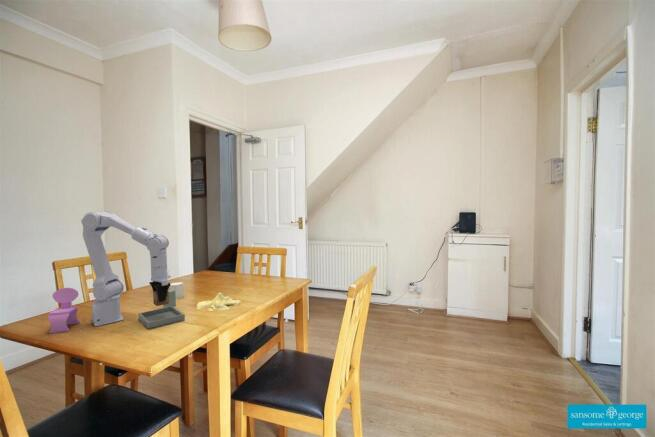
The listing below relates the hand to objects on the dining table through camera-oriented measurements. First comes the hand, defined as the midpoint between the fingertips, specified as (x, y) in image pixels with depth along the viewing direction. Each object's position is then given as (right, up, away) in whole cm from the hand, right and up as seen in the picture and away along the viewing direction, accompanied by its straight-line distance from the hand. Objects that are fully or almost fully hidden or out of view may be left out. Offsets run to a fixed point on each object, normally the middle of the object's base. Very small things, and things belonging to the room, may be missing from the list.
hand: (160, 299), depth 127 cm
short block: (0, -2, 0) cm, 2 cm away
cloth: (+18, -8, +18) cm, 27 cm away
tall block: (-5, -7, +18) cm, 20 cm away
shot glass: (-8, -7, +31) cm, 33 cm away
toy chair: (-33, -9, -6) cm, 35 cm away
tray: (0, -8, 0) cm, 8 cm away
